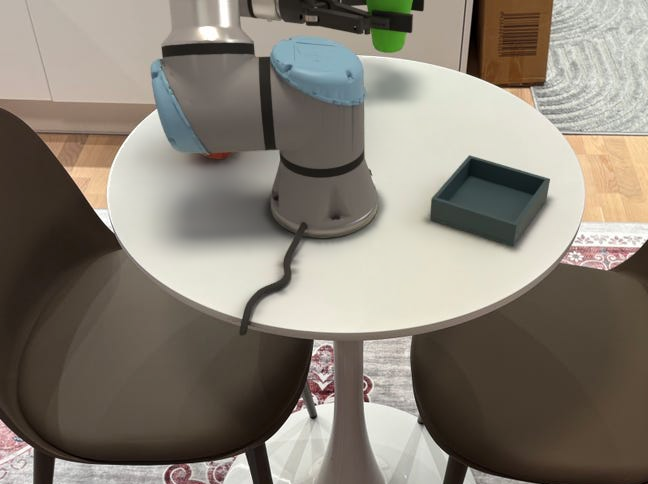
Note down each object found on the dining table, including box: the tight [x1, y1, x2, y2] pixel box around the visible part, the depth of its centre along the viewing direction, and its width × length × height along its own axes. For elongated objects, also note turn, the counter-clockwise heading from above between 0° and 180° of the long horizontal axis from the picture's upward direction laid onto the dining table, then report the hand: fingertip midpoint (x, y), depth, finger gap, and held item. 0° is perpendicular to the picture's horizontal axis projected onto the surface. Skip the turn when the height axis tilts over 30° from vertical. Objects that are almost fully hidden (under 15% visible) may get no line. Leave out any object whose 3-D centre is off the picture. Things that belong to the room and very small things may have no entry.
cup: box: [366, 0, 413, 54], centre depth 137 cm, size 9×9×11 cm
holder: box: [429, 154, 551, 247], centre depth 120 cm, size 13×13×4 cm
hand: (417, 12), depth 136 cm, fingers closed on cup, 8 cm apart
